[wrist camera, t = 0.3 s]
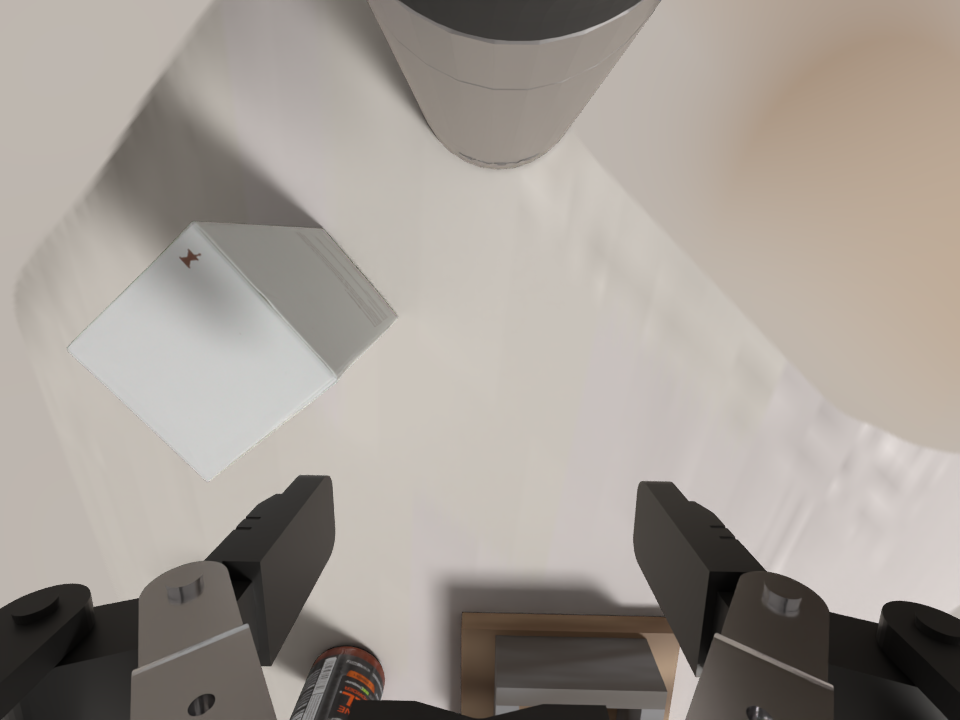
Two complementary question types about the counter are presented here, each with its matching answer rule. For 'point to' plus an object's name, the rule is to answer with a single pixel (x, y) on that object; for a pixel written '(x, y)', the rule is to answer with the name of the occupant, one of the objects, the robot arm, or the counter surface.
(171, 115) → the counter surface
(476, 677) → the socket stand
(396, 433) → the counter surface
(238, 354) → the supplement box
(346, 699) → the supplement bottle
